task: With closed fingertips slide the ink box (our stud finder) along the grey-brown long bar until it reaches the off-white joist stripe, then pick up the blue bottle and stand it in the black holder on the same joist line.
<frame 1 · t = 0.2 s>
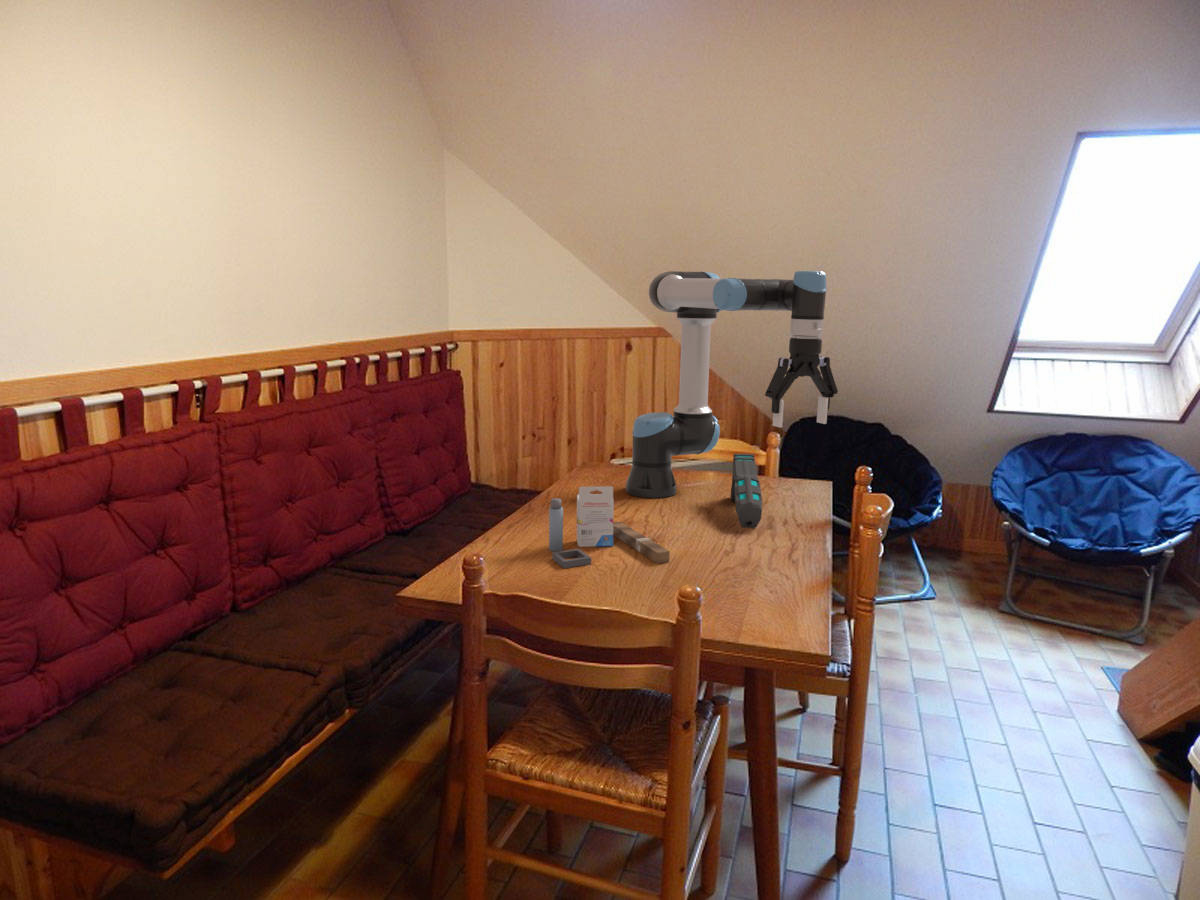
hand: (799, 424, 188), 28 cm above the table, fingers open, 13 cm apart
holder: (571, 561, 172), on the table
grey-brown long bar: (637, 546, 183), on the table
gun: (744, 513, 211), on the table
blue bottle: (555, 549, 180), on the table
ink box: (594, 544, 184), on the table
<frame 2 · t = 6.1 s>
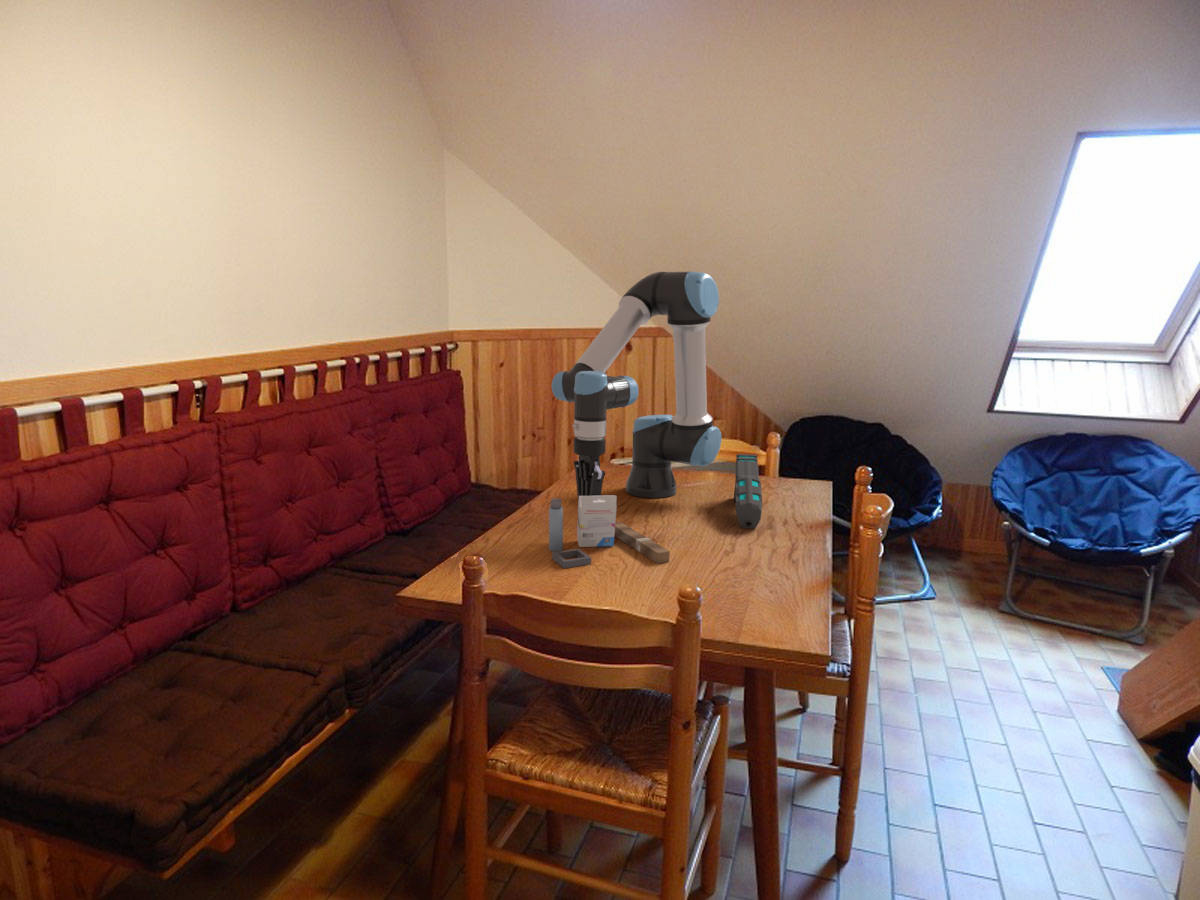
hand: (587, 532, 186), 2 cm above the table, fingers closed
ink box: (594, 541, 184), point 1 cm above the table, touching gripper, hand
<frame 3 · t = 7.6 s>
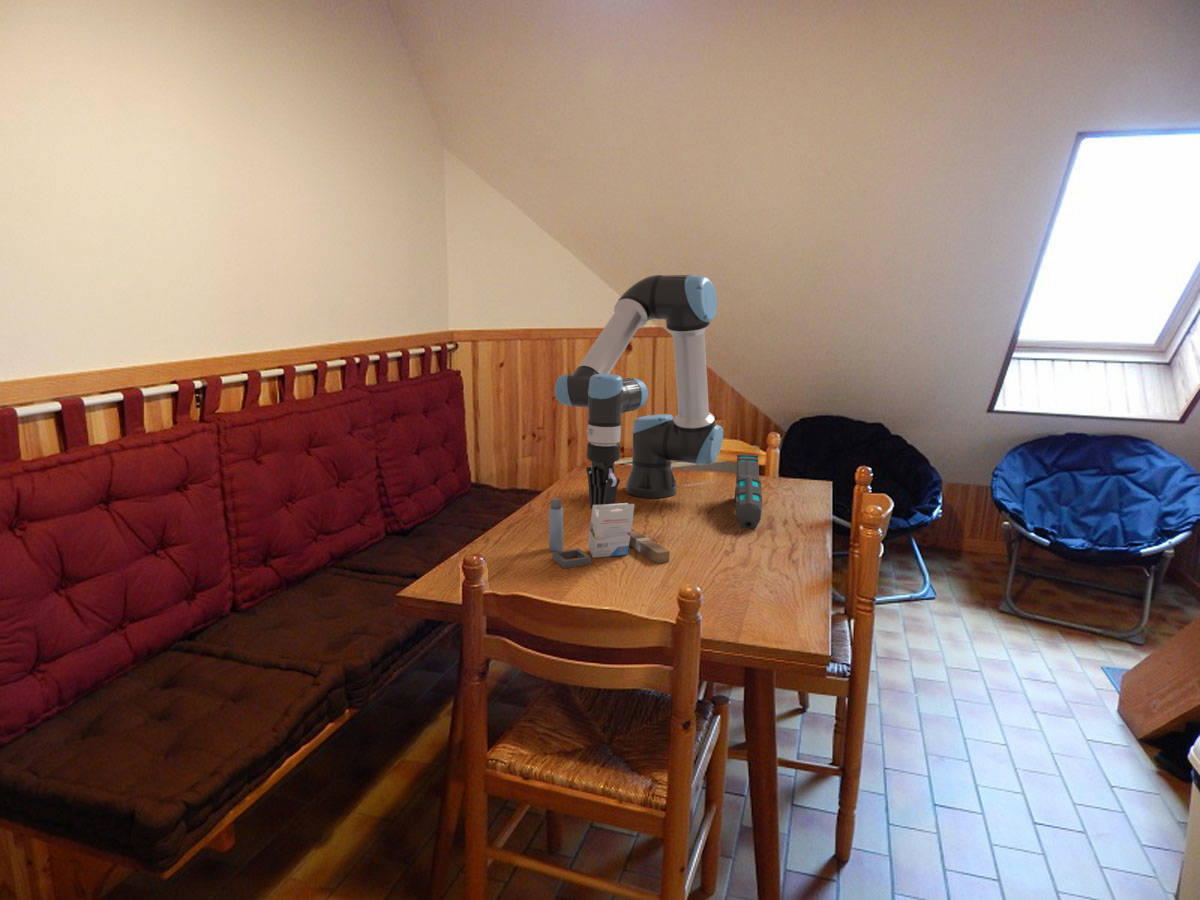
hand: (600, 541, 180), 2 cm above the table, fingers closed
ink box: (607, 550, 177), point 1 cm above the table, touching gripper, hand
everything else where it was.
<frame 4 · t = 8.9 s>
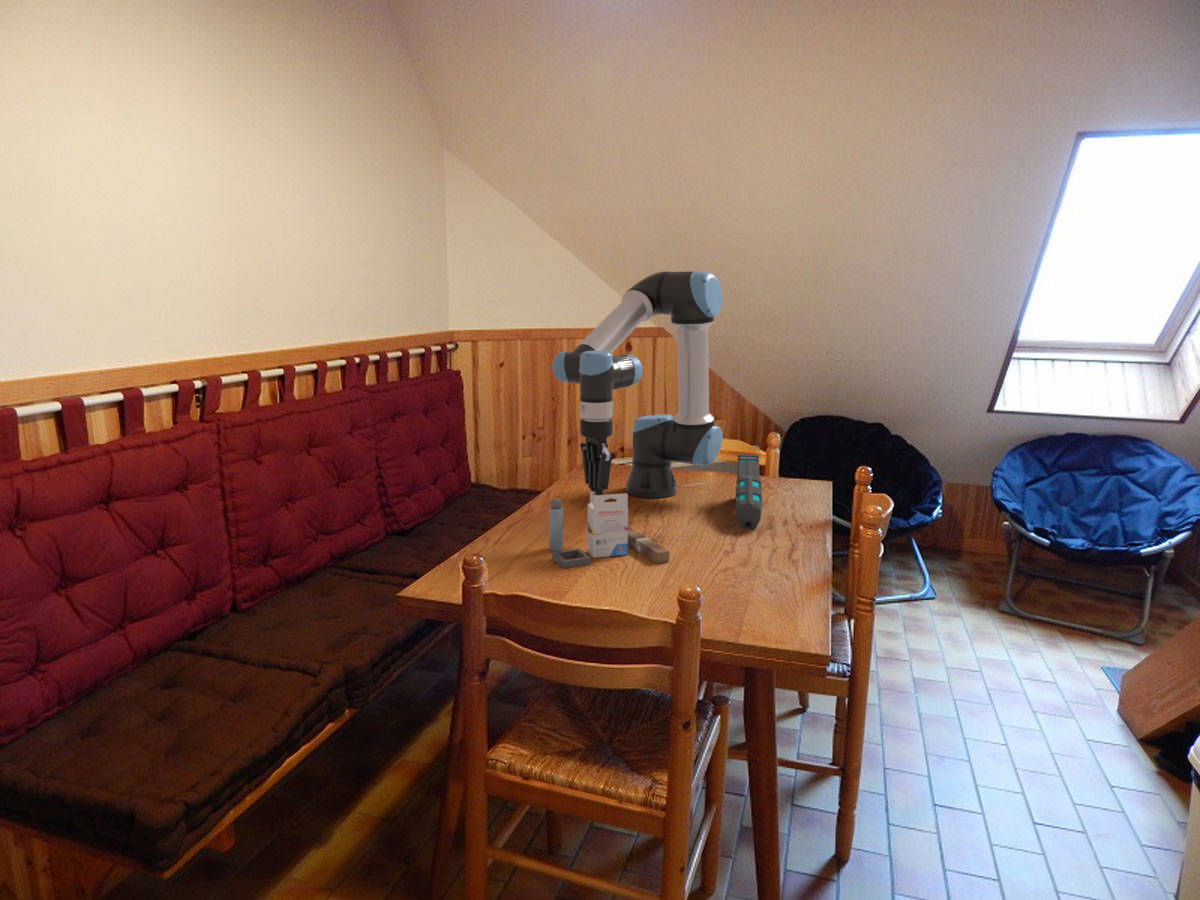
hand: (596, 515, 183), 7 cm above the table, fingers closed
ink box: (606, 554, 178), on the table
everything else where it was.
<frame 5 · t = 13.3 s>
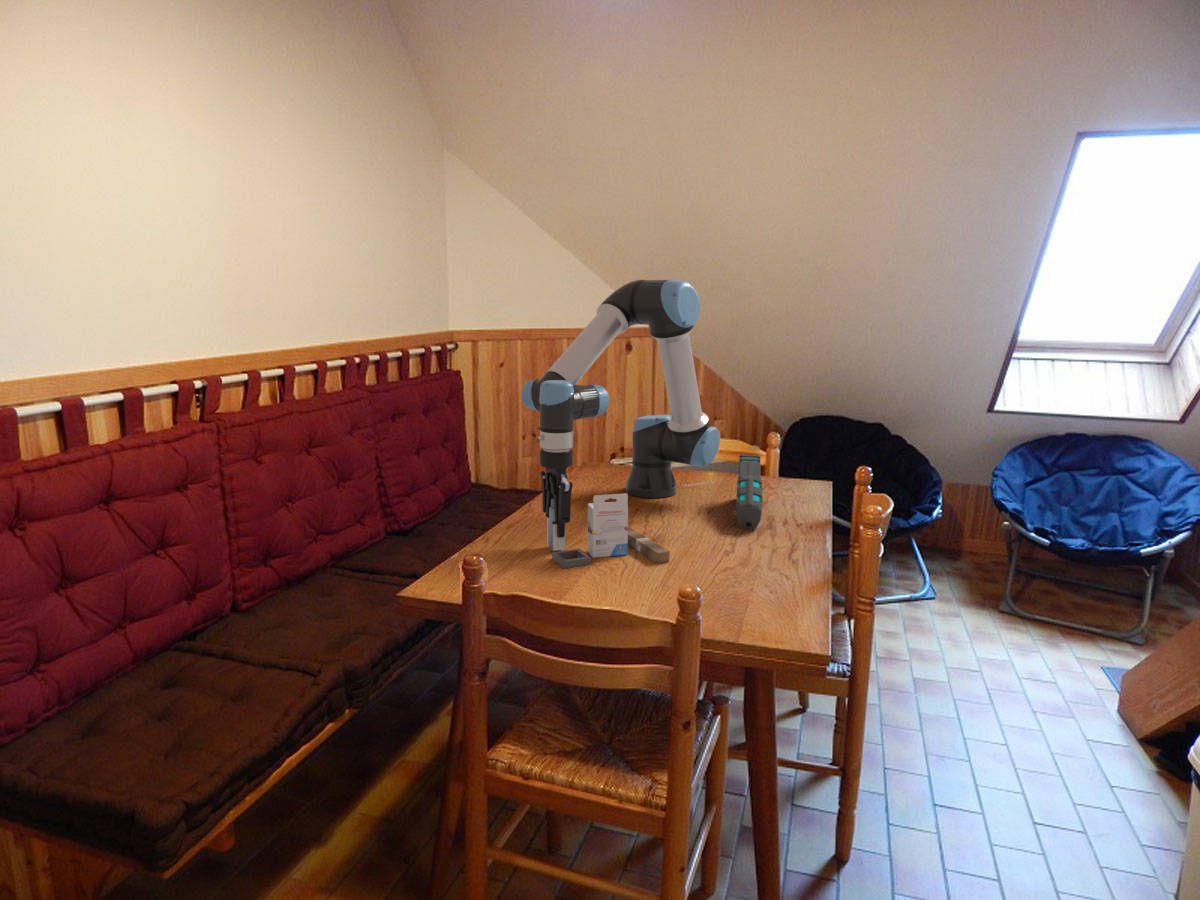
hand: (555, 546, 180), 1 cm above the table, fingers closed on blue bottle, 3 cm apart
blue bottle: (555, 549, 180), on the table, touching gripper
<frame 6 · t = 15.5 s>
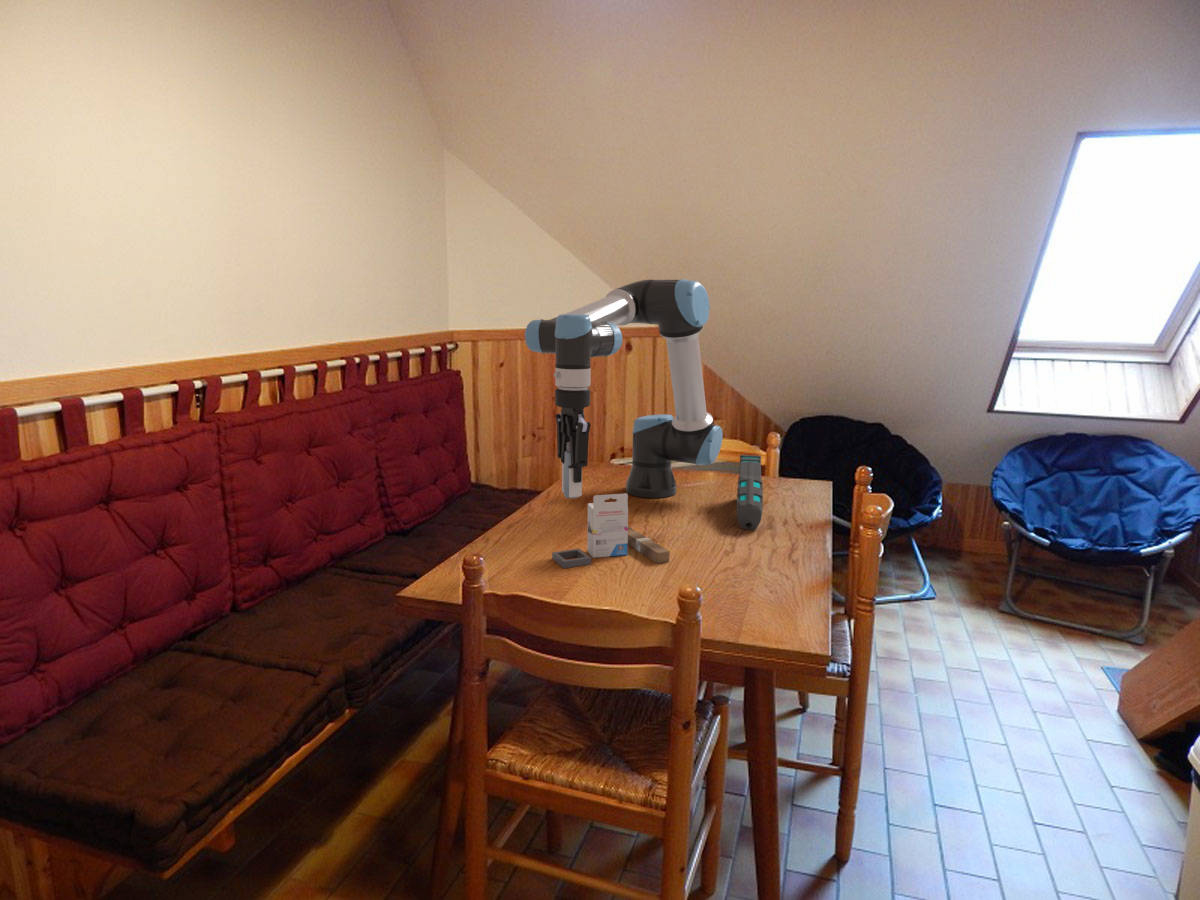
hand: (571, 493, 169), 16 cm above the table, fingers closed on blue bottle, 3 cm apart
blue bottle: (571, 496, 169), point 15 cm above the table, touching gripper
when the fingers open (3 cm above the table, at t = 17.9 s): blue bottle drops 2 cm, resting in holder.
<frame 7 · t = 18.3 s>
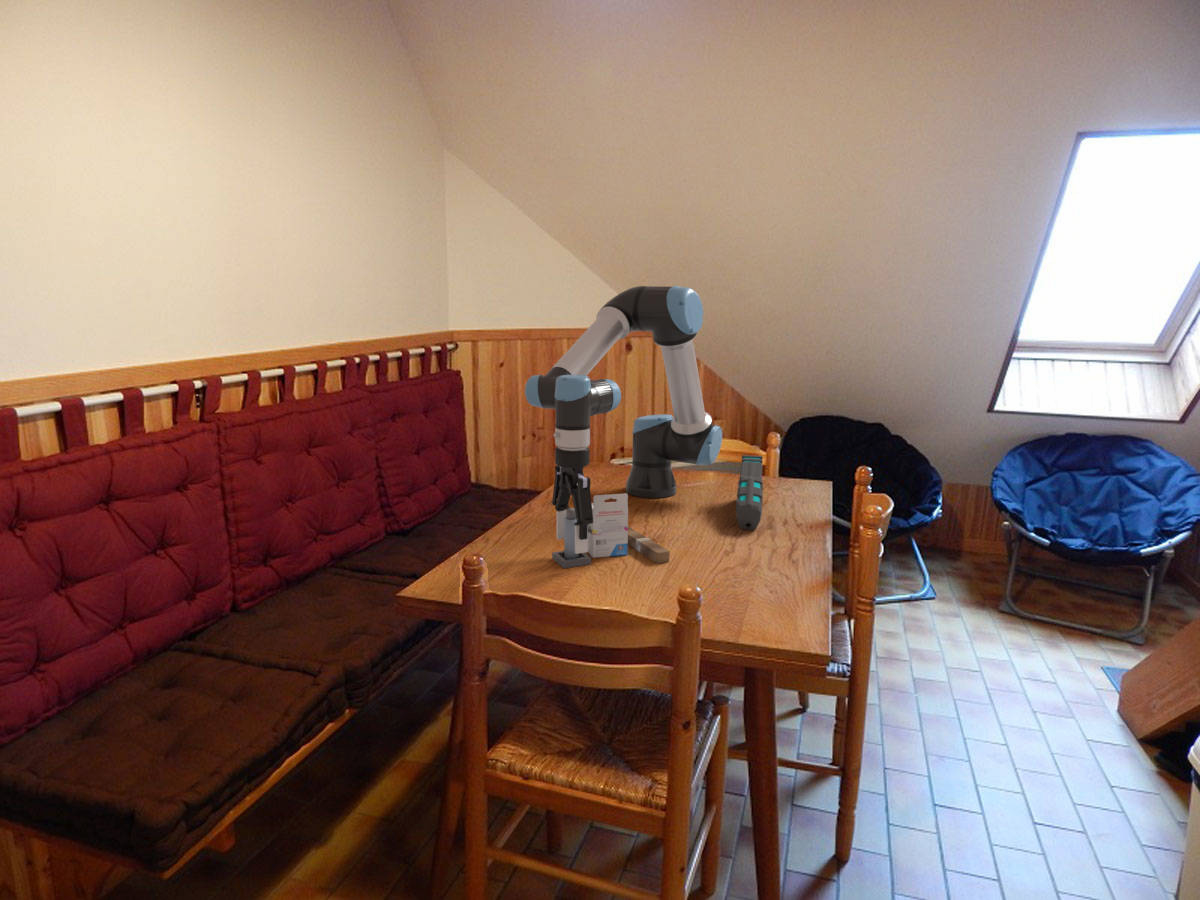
hand: (571, 545, 171), 4 cm above the table, fingers open, 9 cm apart
blue bottle: (571, 561, 172), resting in holder
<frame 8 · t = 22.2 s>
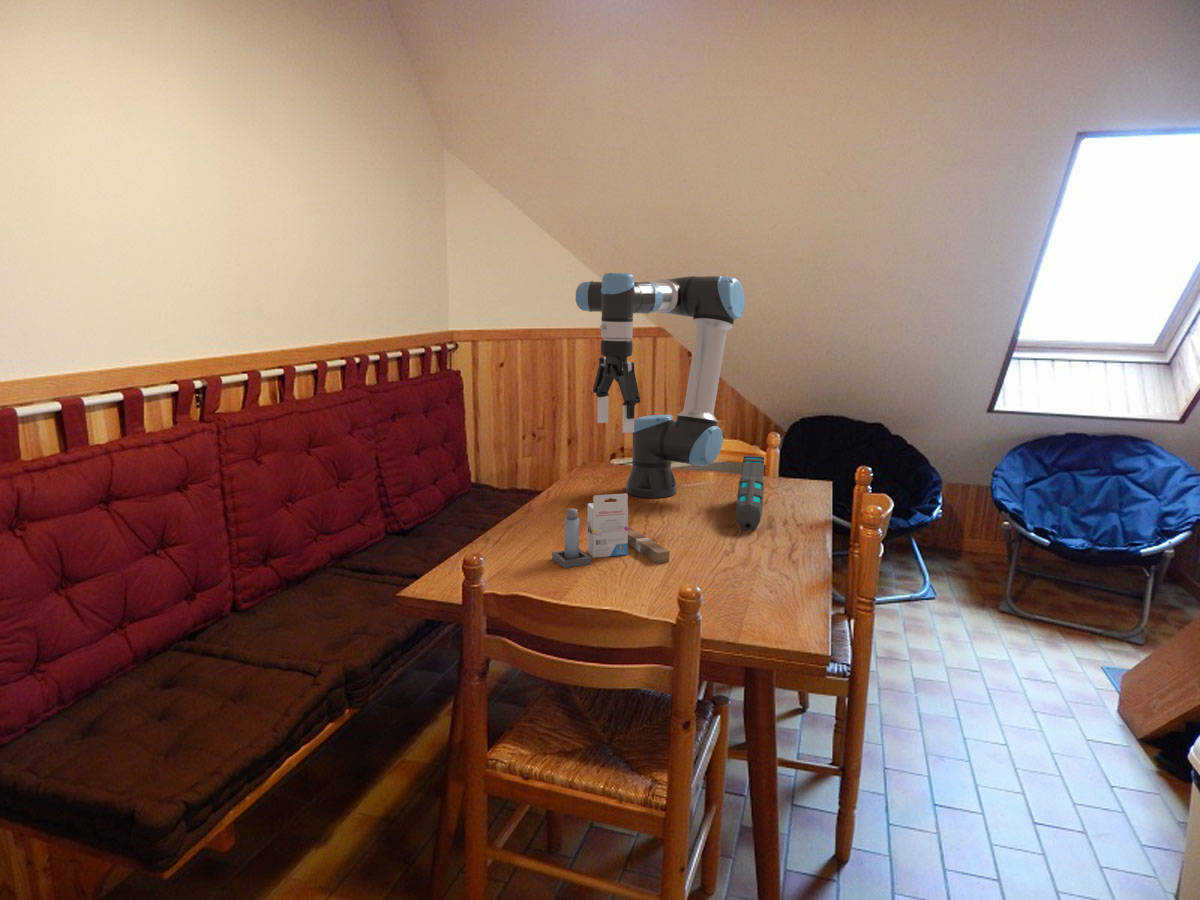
hand: (614, 427, 187), 27 cm above the table, fingers open, 13 cm apart
at the end: ink box inside the target area (2.7 cm from its centre), on the table; blue bottle 0.0 cm off-centre on the holder, point 0.0 cm above the holder's base; blue bottle tilted 0° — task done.
